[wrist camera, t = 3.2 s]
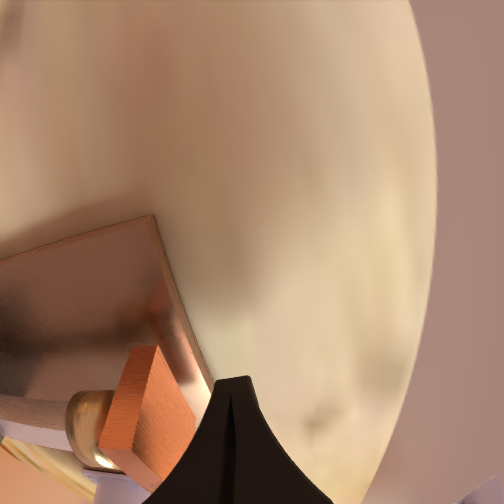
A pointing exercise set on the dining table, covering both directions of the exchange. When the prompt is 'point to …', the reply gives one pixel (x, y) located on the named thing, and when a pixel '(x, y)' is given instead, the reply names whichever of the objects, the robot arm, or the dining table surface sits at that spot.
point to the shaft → (113, 421)
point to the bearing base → (94, 316)
